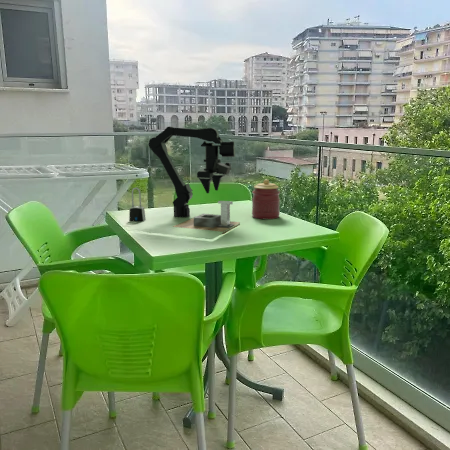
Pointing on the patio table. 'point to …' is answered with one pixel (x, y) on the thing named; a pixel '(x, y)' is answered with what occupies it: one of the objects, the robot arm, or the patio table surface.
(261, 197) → the canister
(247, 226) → the patio table surface
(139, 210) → the padlock
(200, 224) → the chuck stand
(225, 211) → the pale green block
